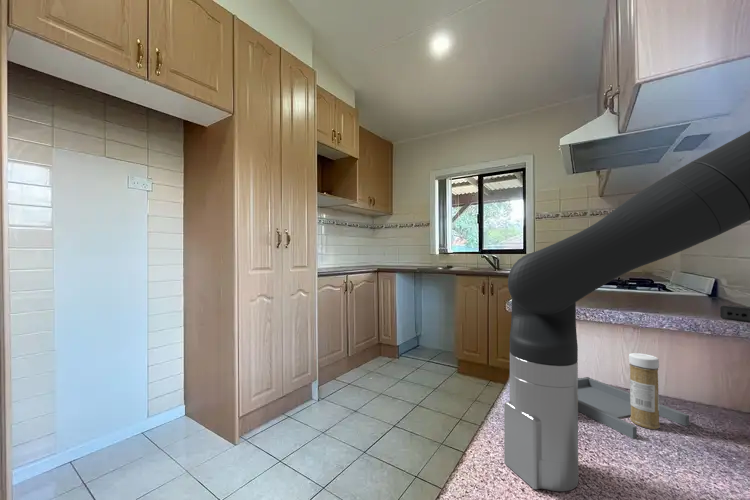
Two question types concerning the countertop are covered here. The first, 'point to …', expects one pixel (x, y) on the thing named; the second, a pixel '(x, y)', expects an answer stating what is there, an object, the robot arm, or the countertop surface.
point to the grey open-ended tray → (615, 406)
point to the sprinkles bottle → (644, 390)
